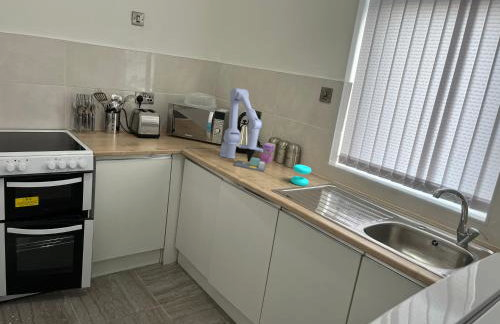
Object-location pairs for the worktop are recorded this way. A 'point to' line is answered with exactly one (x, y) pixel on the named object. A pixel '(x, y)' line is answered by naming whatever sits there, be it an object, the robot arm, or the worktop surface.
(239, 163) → the board
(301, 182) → the donuts
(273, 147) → the box
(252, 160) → the sleeve
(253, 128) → the robot arm
